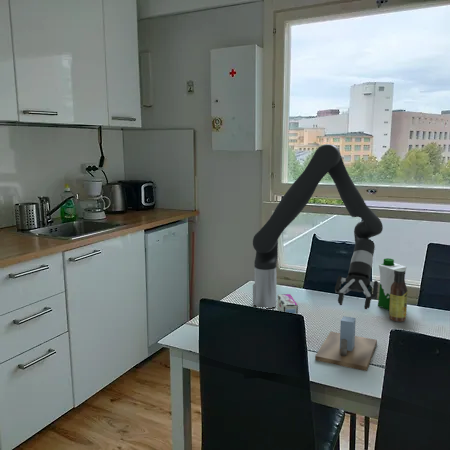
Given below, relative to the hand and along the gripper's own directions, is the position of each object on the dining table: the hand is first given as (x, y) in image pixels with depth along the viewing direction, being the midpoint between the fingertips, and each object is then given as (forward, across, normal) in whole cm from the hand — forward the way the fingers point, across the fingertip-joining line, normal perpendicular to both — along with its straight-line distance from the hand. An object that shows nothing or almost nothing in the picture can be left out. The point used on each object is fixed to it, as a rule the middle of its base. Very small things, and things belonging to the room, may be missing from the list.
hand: (352, 306), depth 152 cm
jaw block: (+14, 0, +2) cm, 14 cm away
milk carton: (-18, +8, +36) cm, 41 cm away
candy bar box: (+18, -20, +1) cm, 26 cm away
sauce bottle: (-10, +12, +28) cm, 32 cm away
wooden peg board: (+15, 0, +3) cm, 15 cm away
